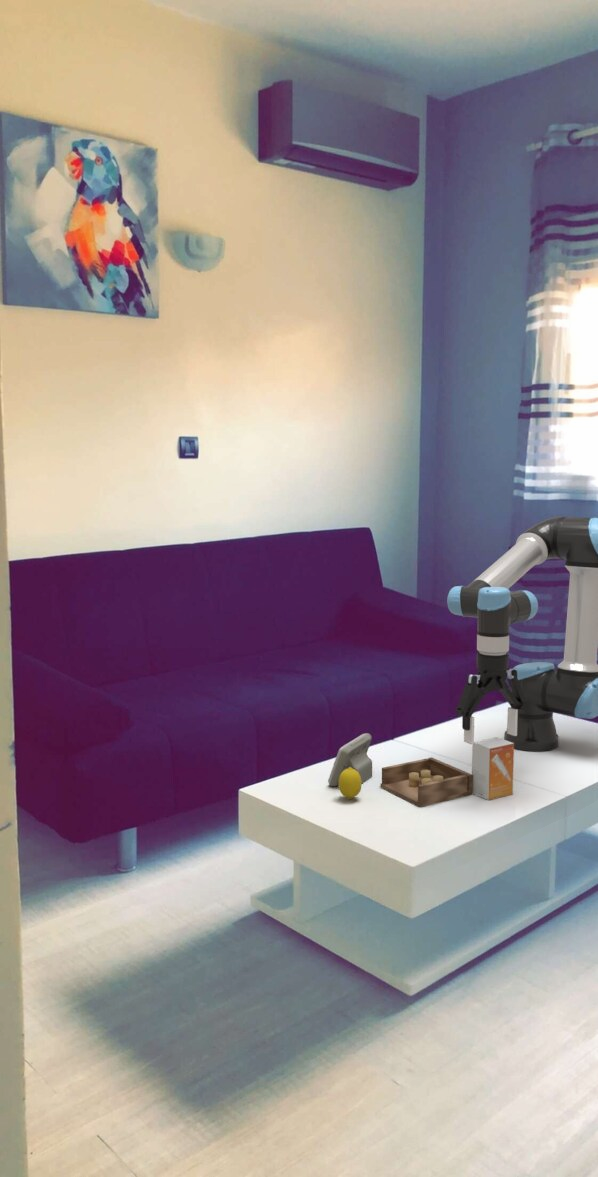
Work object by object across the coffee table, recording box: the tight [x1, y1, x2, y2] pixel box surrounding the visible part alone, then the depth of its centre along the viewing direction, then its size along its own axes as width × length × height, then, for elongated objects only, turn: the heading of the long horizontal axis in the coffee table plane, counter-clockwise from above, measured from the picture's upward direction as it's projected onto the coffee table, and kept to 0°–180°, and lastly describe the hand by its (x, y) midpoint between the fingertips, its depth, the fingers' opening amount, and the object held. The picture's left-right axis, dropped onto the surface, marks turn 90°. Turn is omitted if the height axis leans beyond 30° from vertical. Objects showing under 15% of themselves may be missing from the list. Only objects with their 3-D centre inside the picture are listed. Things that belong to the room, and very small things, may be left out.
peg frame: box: [379, 756, 473, 808], centre depth 238 cm, size 16×16×5 cm
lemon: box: [338, 767, 363, 800], centre depth 232 cm, size 6×6×8 cm
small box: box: [471, 736, 515, 801], centre depth 235 cm, size 8×6×13 cm
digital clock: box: [327, 732, 373, 787], centre depth 246 cm, size 16×9×11 cm, turn 140°
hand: (490, 738), depth 233 cm, fingers open, 13 cm apart
